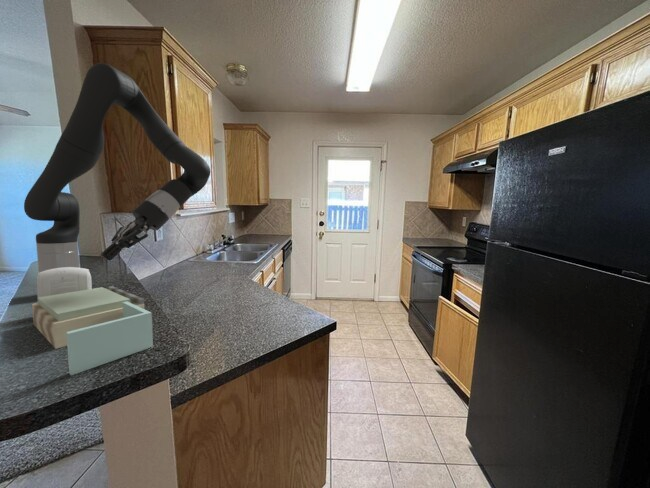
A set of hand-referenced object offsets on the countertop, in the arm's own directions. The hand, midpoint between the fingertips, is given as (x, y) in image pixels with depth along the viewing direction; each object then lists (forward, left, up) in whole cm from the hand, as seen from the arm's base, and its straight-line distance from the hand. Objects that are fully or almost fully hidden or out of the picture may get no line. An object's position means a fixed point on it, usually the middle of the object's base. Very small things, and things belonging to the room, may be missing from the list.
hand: (104, 258), depth 64 cm
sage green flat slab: (0, -4, -10) cm, 11 cm away
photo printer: (-13, -5, -16) cm, 21 cm away
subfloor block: (0, -3, -16) cm, 16 cm away
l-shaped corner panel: (+18, -6, -16) cm, 25 cm away
